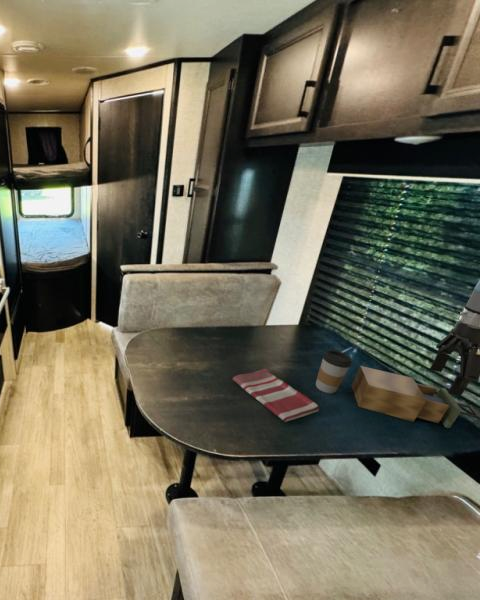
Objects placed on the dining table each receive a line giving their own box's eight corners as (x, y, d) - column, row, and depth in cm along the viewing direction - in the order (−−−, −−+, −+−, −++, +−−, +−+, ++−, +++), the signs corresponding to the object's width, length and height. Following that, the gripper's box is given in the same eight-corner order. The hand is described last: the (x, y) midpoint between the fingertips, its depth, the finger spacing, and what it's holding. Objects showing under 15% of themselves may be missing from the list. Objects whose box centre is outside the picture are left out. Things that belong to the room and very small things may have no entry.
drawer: (461, 412, 107) (473, 395, 104) (479, 436, 98) (492, 417, 95) (384, 393, 116) (393, 376, 113) (394, 413, 107) (404, 395, 104)
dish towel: (263, 371, 129) (265, 366, 128) (319, 411, 109) (322, 405, 108) (231, 380, 124) (232, 375, 123) (283, 424, 104) (285, 418, 103)
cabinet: (401, 398, 114) (412, 377, 110) (413, 421, 104) (426, 399, 100) (351, 386, 121) (360, 365, 117) (358, 406, 111) (368, 385, 107)
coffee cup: (314, 378, 125) (327, 346, 119) (340, 388, 120) (355, 355, 113) (309, 388, 120) (322, 355, 114) (336, 399, 114) (351, 365, 108)
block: (435, 408, 107) (441, 398, 105) (440, 417, 104) (447, 406, 102) (417, 403, 109) (423, 393, 107) (421, 412, 106) (428, 401, 104)
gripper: (440, 306, 106) (414, 359, 114) (481, 341, 86) (445, 401, 94) (472, 311, 102) (442, 364, 111) (522, 347, 82) (481, 409, 91)
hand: (444, 381), depth 103 cm, fingers open, 13 cm apart
